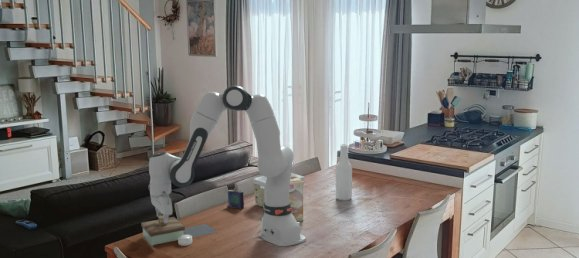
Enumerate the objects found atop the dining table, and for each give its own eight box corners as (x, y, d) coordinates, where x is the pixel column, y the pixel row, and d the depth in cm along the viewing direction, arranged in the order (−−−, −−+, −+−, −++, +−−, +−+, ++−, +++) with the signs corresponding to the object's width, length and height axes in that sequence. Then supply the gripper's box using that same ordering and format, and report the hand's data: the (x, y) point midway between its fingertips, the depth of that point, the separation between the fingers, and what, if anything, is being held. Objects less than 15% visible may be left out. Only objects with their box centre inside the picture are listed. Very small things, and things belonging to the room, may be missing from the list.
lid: (184, 230, 227) (184, 218, 226) (150, 236, 220) (149, 224, 219) (174, 220, 240) (173, 209, 239) (141, 226, 233) (140, 214, 232)
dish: (183, 240, 228) (183, 229, 227) (151, 247, 221) (151, 236, 221) (173, 231, 240) (173, 220, 239) (143, 236, 233) (142, 226, 232)
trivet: (217, 234, 235) (217, 232, 235) (189, 240, 229) (189, 237, 229) (206, 225, 247) (206, 223, 246) (180, 231, 240) (180, 228, 240)
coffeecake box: (273, 223, 249) (273, 184, 245) (270, 219, 255) (269, 180, 252) (303, 220, 252) (303, 181, 249) (299, 216, 259) (299, 177, 256)
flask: (227, 207, 275) (226, 187, 273) (230, 205, 277) (229, 185, 276) (242, 209, 271) (242, 189, 269) (245, 207, 273) (244, 187, 272)
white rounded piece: (194, 245, 222) (194, 238, 222) (180, 248, 219) (180, 240, 219) (189, 241, 228) (189, 233, 227) (176, 244, 225) (175, 236, 224)
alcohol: (351, 196, 291) (352, 143, 287) (351, 200, 283) (352, 146, 278) (335, 195, 292) (336, 143, 287) (335, 200, 284) (335, 146, 279)
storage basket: (287, 196, 293) (286, 170, 291) (306, 202, 281) (305, 176, 278) (252, 204, 278) (251, 177, 276) (270, 212, 266) (270, 184, 263)
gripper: (175, 193, 220) (176, 225, 222) (161, 182, 237) (162, 212, 239) (160, 196, 217) (162, 227, 219) (147, 184, 234) (148, 214, 236)
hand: (162, 219), depth 229 cm, fingers open, 8 cm apart
